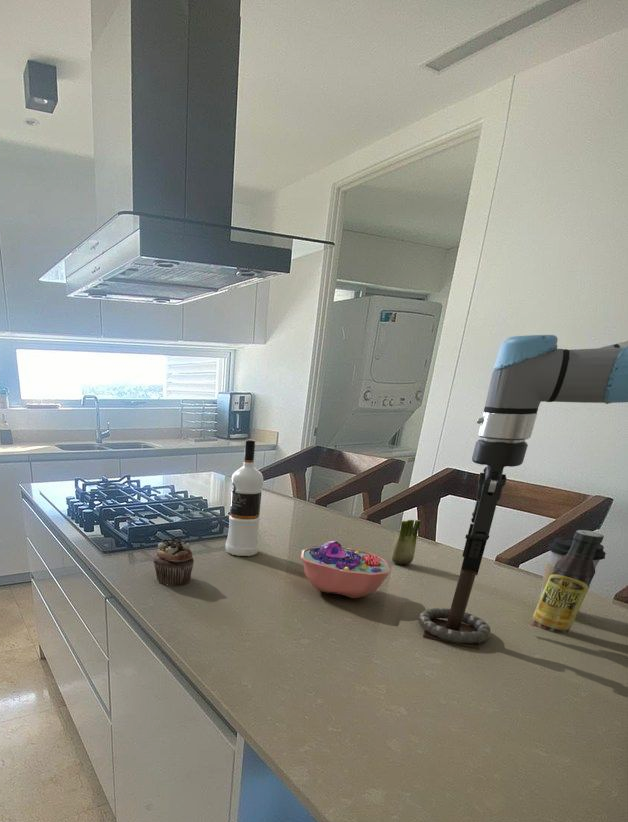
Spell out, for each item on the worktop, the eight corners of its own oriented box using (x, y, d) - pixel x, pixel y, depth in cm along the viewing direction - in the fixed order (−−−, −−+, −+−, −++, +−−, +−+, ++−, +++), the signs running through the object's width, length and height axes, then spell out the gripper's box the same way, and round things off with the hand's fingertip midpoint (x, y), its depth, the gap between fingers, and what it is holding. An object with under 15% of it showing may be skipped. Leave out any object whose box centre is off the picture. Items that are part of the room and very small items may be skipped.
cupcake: (201, 579, 116) (203, 539, 112) (173, 590, 110) (174, 548, 106) (173, 569, 122) (173, 530, 118) (144, 579, 116) (144, 539, 112)
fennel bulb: (410, 561, 131) (420, 517, 126) (415, 567, 127) (426, 522, 122) (387, 560, 132) (396, 516, 127) (392, 566, 127) (402, 521, 122)
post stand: (477, 634, 93) (497, 568, 88) (477, 654, 86) (499, 584, 80) (425, 623, 97) (442, 559, 92) (421, 641, 90) (439, 573, 84)
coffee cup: (535, 615, 101) (560, 546, 95) (522, 598, 109) (544, 534, 103) (589, 622, 99) (618, 552, 92) (571, 604, 107) (597, 539, 101)
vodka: (262, 557, 132) (272, 442, 120) (228, 557, 131) (235, 441, 119) (254, 546, 140) (263, 438, 128) (222, 547, 139) (229, 437, 127)
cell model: (353, 618, 99) (363, 565, 94) (280, 586, 113) (285, 539, 108) (400, 599, 108) (411, 550, 103) (326, 572, 122) (333, 528, 118)
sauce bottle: (525, 628, 96) (559, 530, 87) (535, 619, 99) (569, 525, 91) (564, 641, 91) (605, 539, 83) (574, 631, 95) (613, 533, 87)
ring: (487, 624, 94) (490, 615, 93) (490, 651, 84) (493, 641, 83) (419, 610, 99) (421, 601, 98) (414, 635, 89) (417, 625, 88)
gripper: (477, 432, 92) (450, 545, 101) (475, 446, 75) (443, 580, 85) (524, 433, 88) (492, 551, 98) (534, 449, 72) (493, 589, 81)
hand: (469, 564), depth 91 cm, fingers open, 9 cm apart
